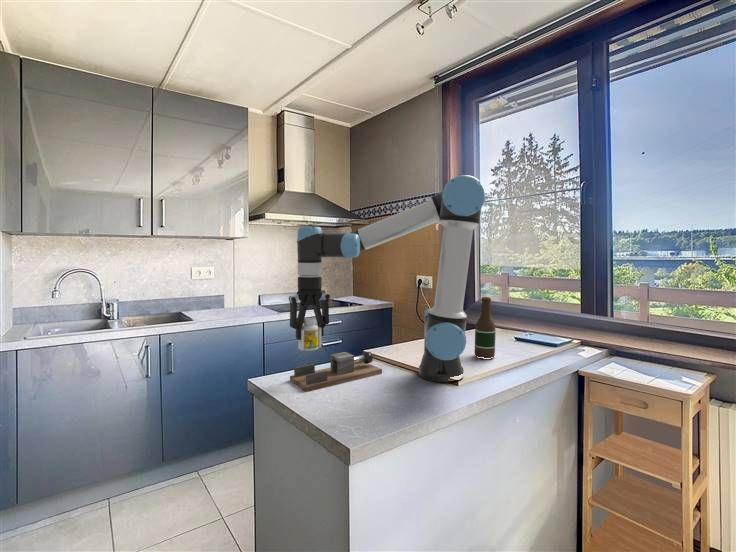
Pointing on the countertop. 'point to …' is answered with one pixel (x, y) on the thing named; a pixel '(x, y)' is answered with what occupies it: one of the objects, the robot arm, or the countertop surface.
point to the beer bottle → (485, 331)
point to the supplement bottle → (310, 334)
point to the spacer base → (332, 372)
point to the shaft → (363, 358)
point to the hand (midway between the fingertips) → (310, 347)
